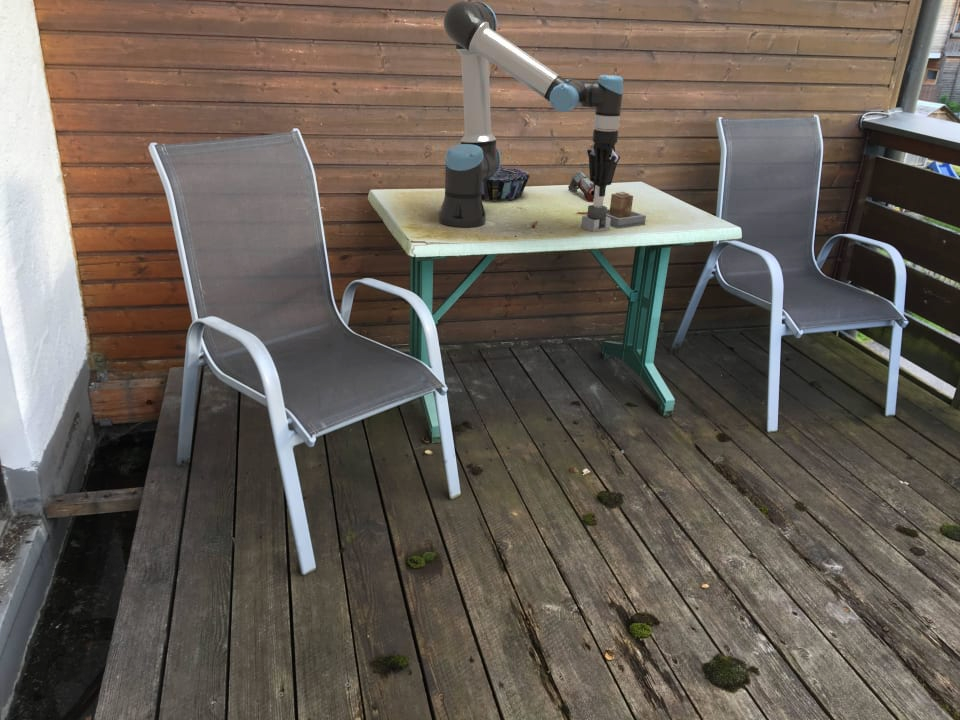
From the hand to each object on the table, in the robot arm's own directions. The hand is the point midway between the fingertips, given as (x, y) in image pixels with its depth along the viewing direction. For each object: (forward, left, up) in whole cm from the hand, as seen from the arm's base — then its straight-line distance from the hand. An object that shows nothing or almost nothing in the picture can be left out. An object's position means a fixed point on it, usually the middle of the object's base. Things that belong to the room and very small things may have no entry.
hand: (598, 205), depth 245 cm
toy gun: (+26, +39, -8) cm, 47 cm away
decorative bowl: (-5, +53, -8) cm, 54 cm away
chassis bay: (+13, +3, -7) cm, 15 cm away
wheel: (0, 0, -7) cm, 7 cm away
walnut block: (+13, +3, -6) cm, 15 cm away
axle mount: (0, 0, -7) cm, 7 cm away
